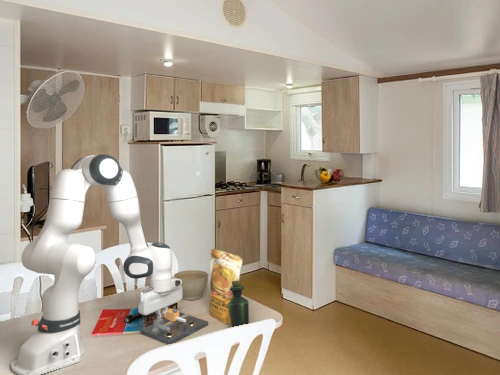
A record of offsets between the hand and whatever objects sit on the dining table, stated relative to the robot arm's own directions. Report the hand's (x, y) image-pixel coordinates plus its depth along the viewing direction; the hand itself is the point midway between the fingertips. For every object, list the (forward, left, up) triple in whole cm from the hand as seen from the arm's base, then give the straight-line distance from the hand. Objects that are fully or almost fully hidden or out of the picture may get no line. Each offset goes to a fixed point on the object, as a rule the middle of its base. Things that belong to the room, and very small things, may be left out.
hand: (161, 318), depth 162 cm
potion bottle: (+16, -27, -3) cm, 31 cm away
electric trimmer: (+2, +14, -4) cm, 15 cm away
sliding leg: (+3, -4, -2) cm, 5 cm away
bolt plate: (+2, -5, -4) cm, 7 cm away
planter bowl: (+31, +14, -4) cm, 35 cm away
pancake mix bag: (+22, -14, -4) cm, 26 cm away
